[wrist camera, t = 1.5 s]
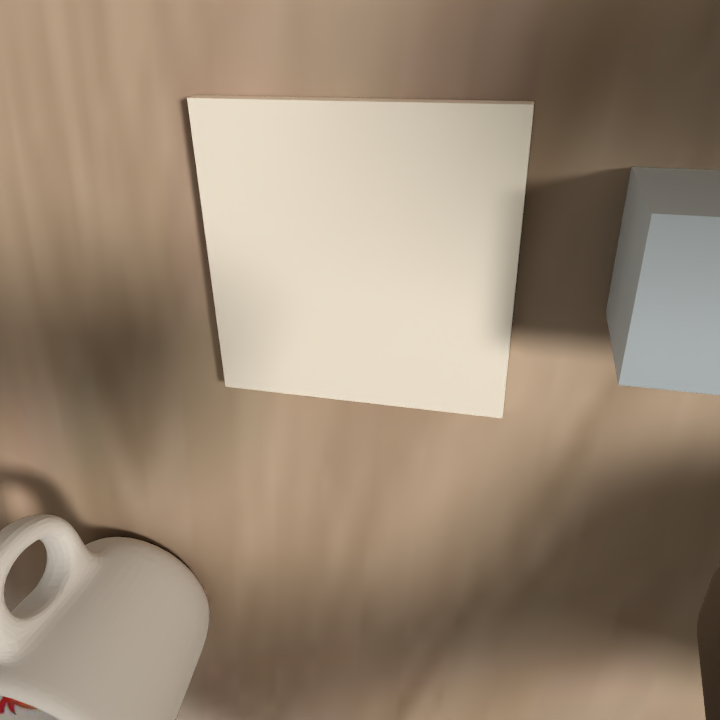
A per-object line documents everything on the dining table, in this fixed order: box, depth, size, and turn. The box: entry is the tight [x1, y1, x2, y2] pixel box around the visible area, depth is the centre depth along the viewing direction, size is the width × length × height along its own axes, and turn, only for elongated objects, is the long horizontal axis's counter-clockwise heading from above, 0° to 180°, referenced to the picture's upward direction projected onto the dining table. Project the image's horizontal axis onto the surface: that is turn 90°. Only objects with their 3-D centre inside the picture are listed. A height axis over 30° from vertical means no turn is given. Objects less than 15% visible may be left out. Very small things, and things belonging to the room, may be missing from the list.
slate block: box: [606, 167, 720, 395], centre depth 16 cm, size 4×4×4 cm
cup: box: [0, 514, 210, 720], centre depth 25 cm, size 11×8×8 cm
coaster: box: [187, 95, 534, 418], centre depth 20 cm, size 9×9×1 cm
